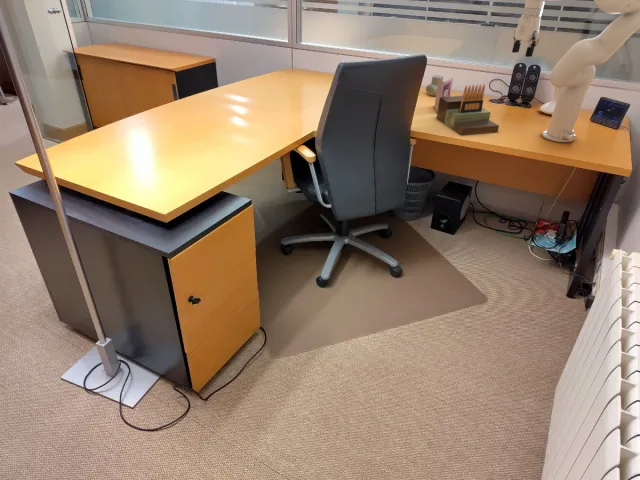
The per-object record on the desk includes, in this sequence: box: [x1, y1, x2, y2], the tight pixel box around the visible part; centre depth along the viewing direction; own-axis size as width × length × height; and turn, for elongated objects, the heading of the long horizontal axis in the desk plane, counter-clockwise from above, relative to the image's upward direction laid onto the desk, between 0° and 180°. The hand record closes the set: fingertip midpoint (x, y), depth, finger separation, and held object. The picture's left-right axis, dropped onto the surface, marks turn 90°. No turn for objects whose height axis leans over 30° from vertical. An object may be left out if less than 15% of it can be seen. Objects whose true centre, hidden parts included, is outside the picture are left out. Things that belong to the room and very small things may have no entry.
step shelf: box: [436, 95, 500, 136], centre depth 198 cm, size 24×18×10 cm
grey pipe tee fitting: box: [425, 74, 444, 97], centre depth 239 cm, size 11×8×10 cm
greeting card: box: [433, 77, 454, 112], centre depth 215 cm, size 11×7×15 cm, turn 143°
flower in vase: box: [539, 86, 562, 116], centre depth 209 cm, size 13×11×25 cm
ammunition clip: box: [459, 83, 486, 113], centre depth 193 cm, size 11×2×12 cm, turn 104°
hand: (521, 54), depth 197 cm, fingers open, 9 cm apart
